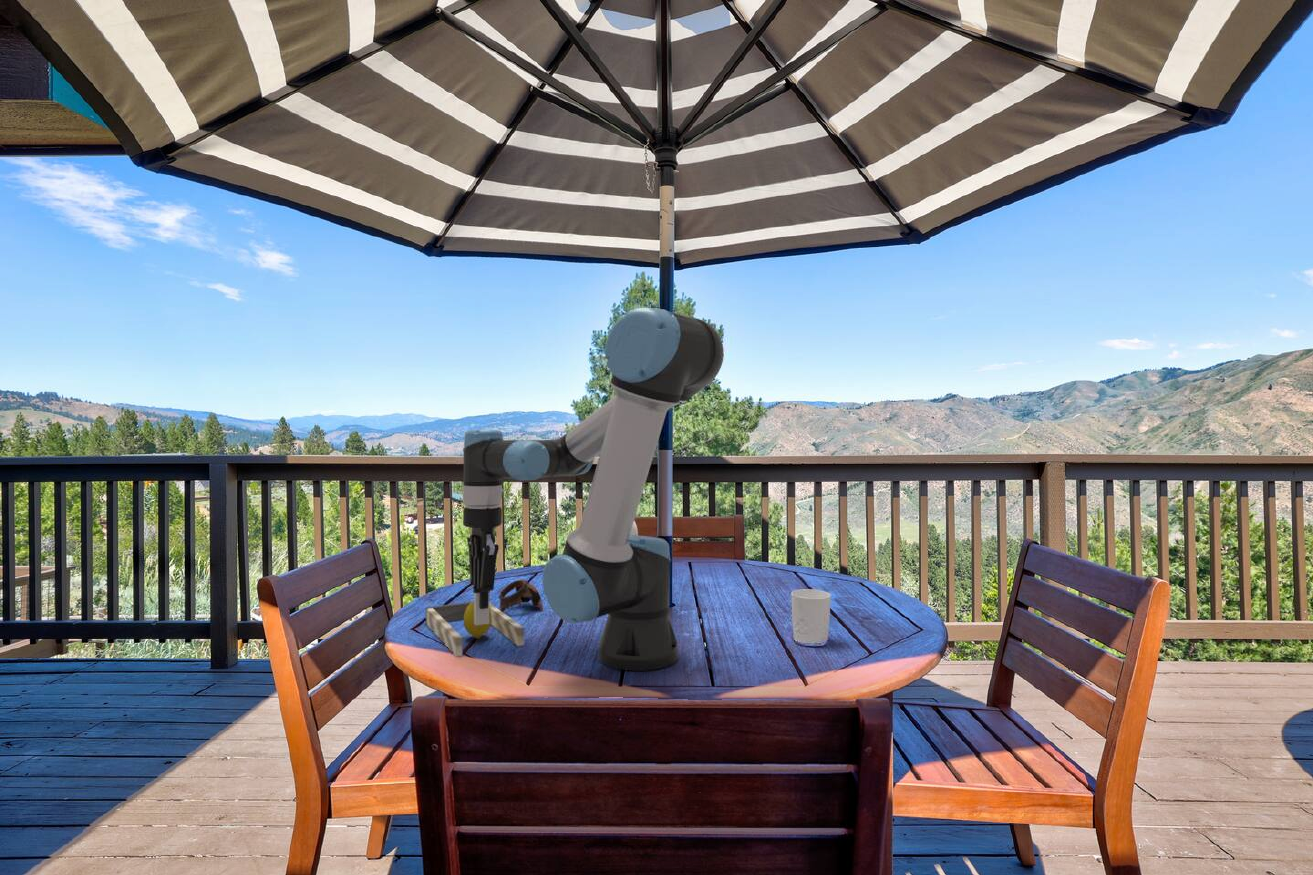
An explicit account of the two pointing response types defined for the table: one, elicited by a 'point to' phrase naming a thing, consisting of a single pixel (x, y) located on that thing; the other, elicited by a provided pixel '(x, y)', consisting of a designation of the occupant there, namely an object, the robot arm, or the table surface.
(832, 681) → the table surface
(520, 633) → the channel
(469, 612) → the lemon
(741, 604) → the table surface
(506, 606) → the brown open ring
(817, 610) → the white cup
